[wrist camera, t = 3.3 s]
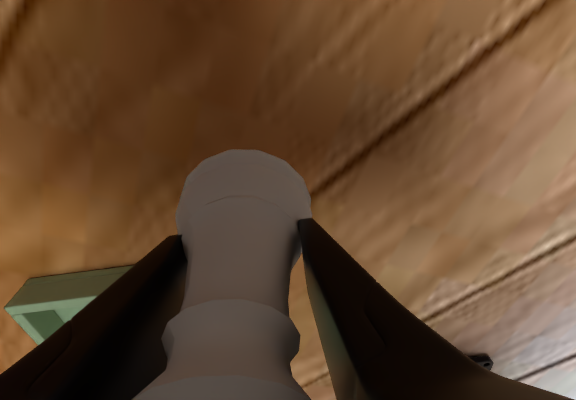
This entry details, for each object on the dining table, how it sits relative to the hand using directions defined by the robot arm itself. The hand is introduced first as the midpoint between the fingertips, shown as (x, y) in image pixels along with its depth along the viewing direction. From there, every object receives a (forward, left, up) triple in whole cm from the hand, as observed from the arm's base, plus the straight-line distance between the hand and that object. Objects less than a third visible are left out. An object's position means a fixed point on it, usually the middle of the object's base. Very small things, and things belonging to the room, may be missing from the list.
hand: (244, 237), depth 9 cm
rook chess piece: (0, 0, -2) cm, 2 cm away
